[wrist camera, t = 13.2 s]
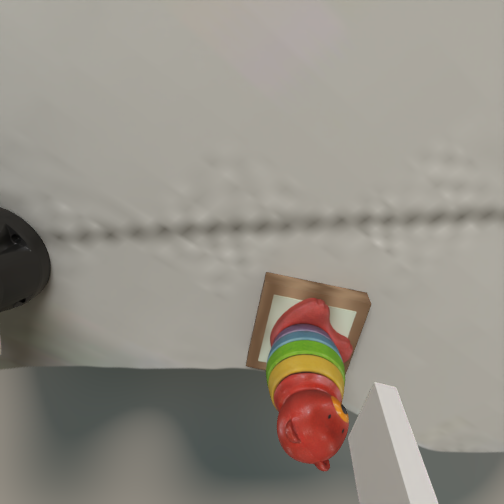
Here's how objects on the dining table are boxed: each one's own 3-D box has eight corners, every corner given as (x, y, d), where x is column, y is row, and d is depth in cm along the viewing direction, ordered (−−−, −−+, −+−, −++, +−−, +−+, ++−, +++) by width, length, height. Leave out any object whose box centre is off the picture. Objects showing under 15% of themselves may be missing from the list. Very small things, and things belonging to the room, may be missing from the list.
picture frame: (248, 352, 57) (245, 366, 54) (266, 272, 51) (264, 282, 48) (338, 371, 57) (341, 386, 54) (366, 292, 51) (371, 304, 48)
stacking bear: (357, 351, 51) (389, 473, 35) (293, 379, 54) (294, 503, 38) (319, 291, 48) (335, 393, 32) (253, 323, 51) (236, 432, 35)
